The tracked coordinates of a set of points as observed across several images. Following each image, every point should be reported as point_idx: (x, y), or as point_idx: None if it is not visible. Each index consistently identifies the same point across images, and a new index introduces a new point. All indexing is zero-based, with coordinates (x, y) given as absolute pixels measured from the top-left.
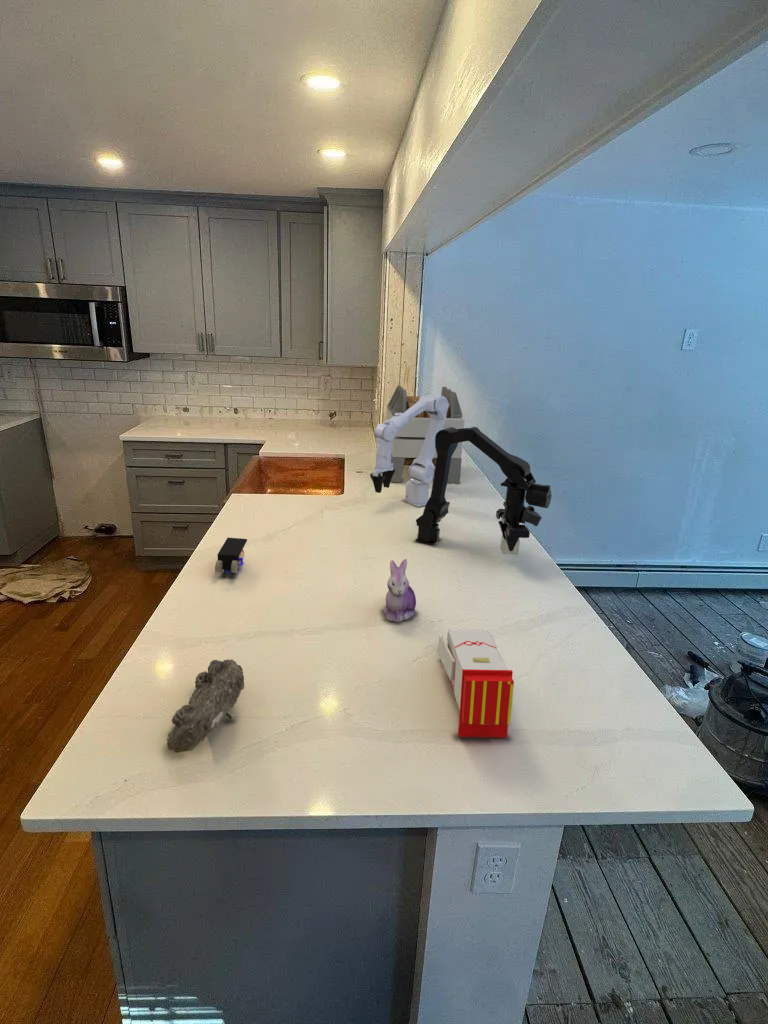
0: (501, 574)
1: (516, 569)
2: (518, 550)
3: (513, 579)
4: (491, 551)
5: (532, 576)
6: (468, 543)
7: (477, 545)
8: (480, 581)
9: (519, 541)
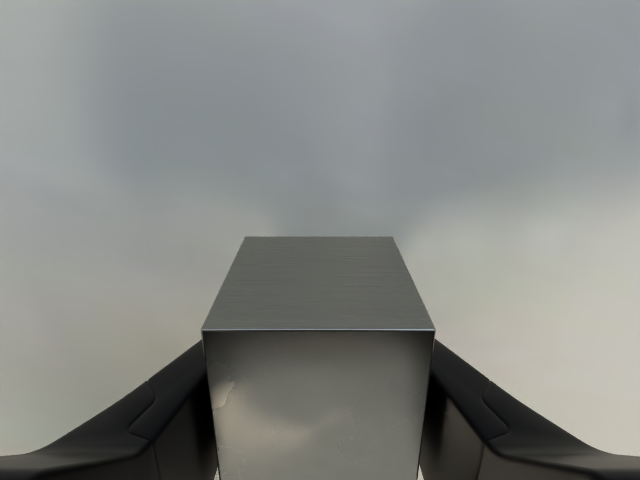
0: (535, 348)
1: (464, 225)
2: (401, 256)
3: (628, 288)
4: (132, 336)
5: (611, 125)
6: (24, 451)
7: (42, 406)
8: None
9: (429, 323)
